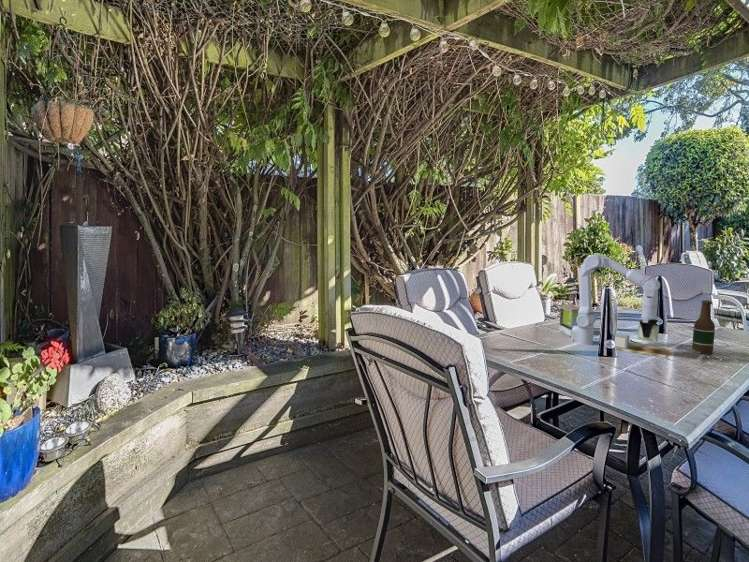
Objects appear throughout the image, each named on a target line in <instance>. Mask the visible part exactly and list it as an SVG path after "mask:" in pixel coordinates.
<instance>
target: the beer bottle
mask: <svg viewBox="0 0 749 562" xmlns="http://www.w3.org/2000/svg"><path fill="white" fill-rule="evenodd" d="M711 309H712V300H704V299H703V300H701V308H700V314H699V317H698V318H697V319H696V321H695V323H694V325H693V330H692V331H693V332H692V343H691V345H692V346H691V349H692V350H693V351H695V352H699V355H702V354H706V355H705V356H710V355H709V354H711V355H713V352H714V342H715V334H716V332H715V331H716V325H715V322H713V321H714V320H712V315H711V314H712V310H711Z"/></svg>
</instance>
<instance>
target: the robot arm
mask: <svg viewBox="0 0 749 562" xmlns="http://www.w3.org/2000/svg"><path fill="white" fill-rule="evenodd" d="M600 268H609V269H611V270H613V271H615V272H617V273H619V274H621V275H623V276H625V279H626V280H627V281H629V282H630V283H632V284H634V285H636V286H637V287H639V288H642V290H643V295H642V305H641V315H640V318H641V319H642V320H639V323H638V324H639V325H641V327H642V332H643V337H646V338H649V337H650V333H651V329H652V327H653V325H656V326H657V323H658V321H659V320H660V319H661V317H660V316H658V306H659V289H660V288H661V283H660V281H659V280H658V279H657V278H655V277H652V276H651V275H646V274H645V273H643V272H642V271H641V270H640V269H636V268H635V269H634V268H633V269H629V268H628V267H626V266H624V265H622V264H621V263H619V262H617V261H616V260H614V259H612V258H610V257H609V256H606V255H603V254H601V253H596V254H590V255H588V256H587V257H586V258H584V260H583V262H582V264H581V266H580V267H579V269H578V290H579V293H578V295H579V306H580V309H579V311H578V317H577V319H576V322H577V324H578V326H573V328H572V333H571V336H570V339H571V340H570V343H576V344H580V345H594V332H595V325H594V324H595V323H596V321H597V317H596V315H595V312H594V308H593V305H592V304H593V302H592V279H591V277H592V276H591V275H592V273H594V272H595V271H596V270H598V269H600Z"/></svg>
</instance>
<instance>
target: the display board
mask: <svg viewBox="0 0 749 562" xmlns="http://www.w3.org/2000/svg"><path fill="white" fill-rule="evenodd" d="M615 351H620V352H626V353H633V354H639V355H643V356H644V355H645V356H650V357H657V358H662V359H666V358H667V357H668V356H670V354H671V353H672V352H673V349H672V348H664V347H657V346H650V345H645V344H638V343H632V342H629V349H621V348H616V350H615Z"/></svg>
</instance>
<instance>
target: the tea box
mask: <svg viewBox="0 0 749 562" xmlns="http://www.w3.org/2000/svg"><path fill="white" fill-rule="evenodd" d="M579 309H580V304H579V305H578V304H560V314H559V315H560V316H559V331H560V332H562V333H563V334H566V335H567V336H569V337H571V333H572V328H573V326H578V324H577V322H576V319H577V317H578V311H579Z"/></svg>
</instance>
